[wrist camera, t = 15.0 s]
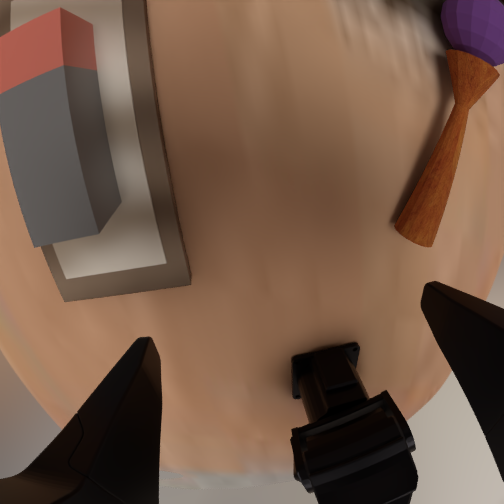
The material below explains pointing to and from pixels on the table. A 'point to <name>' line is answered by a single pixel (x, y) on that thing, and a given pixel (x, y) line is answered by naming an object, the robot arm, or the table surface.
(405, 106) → the table surface
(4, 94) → the red and gray block
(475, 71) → the purple maraca
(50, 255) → the board
